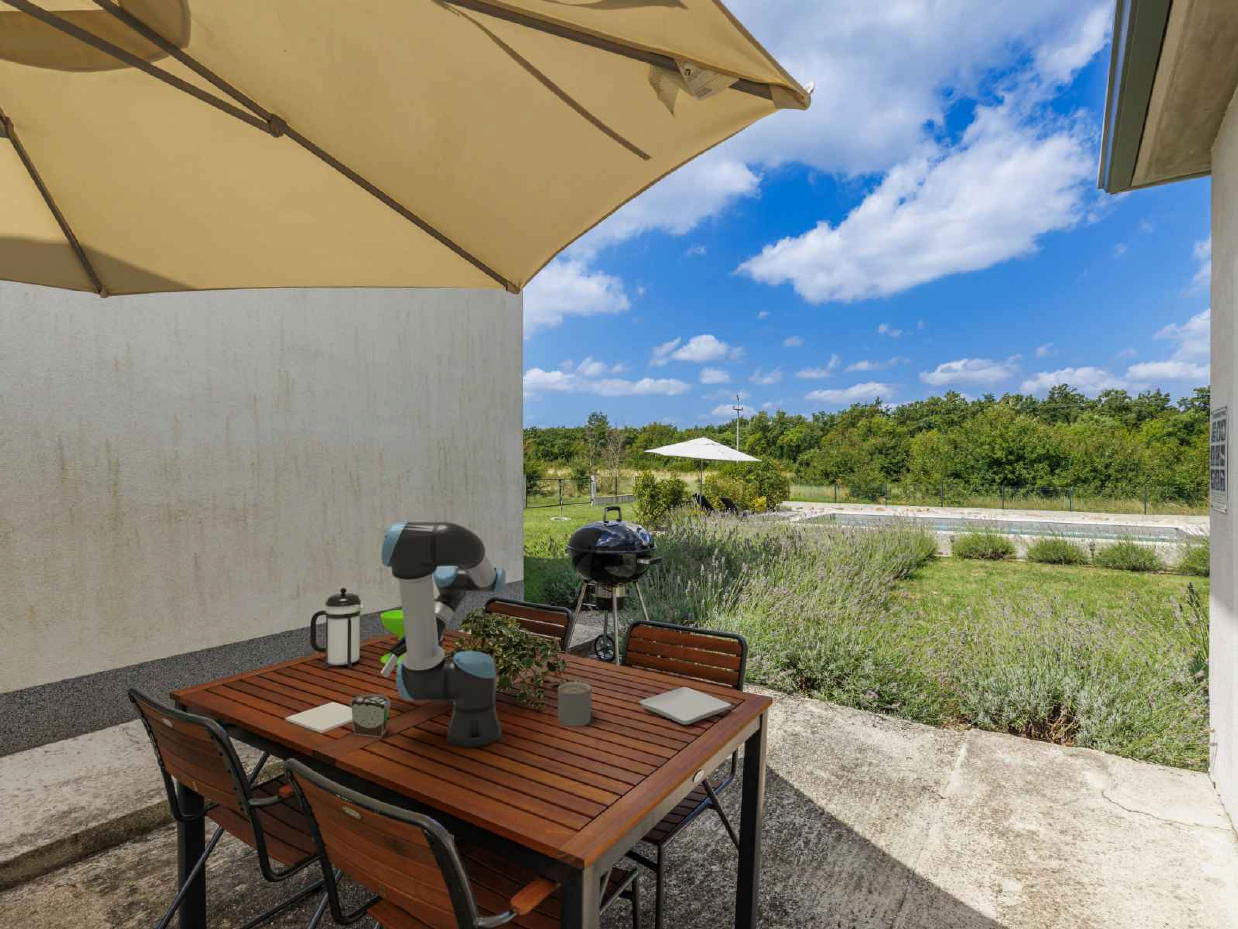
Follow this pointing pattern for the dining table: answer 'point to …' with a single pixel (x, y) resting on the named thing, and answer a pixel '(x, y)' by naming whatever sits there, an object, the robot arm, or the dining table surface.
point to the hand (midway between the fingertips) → (398, 679)
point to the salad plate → (685, 705)
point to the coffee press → (340, 629)
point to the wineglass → (393, 628)
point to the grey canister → (574, 704)
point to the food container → (370, 714)
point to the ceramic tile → (323, 717)
